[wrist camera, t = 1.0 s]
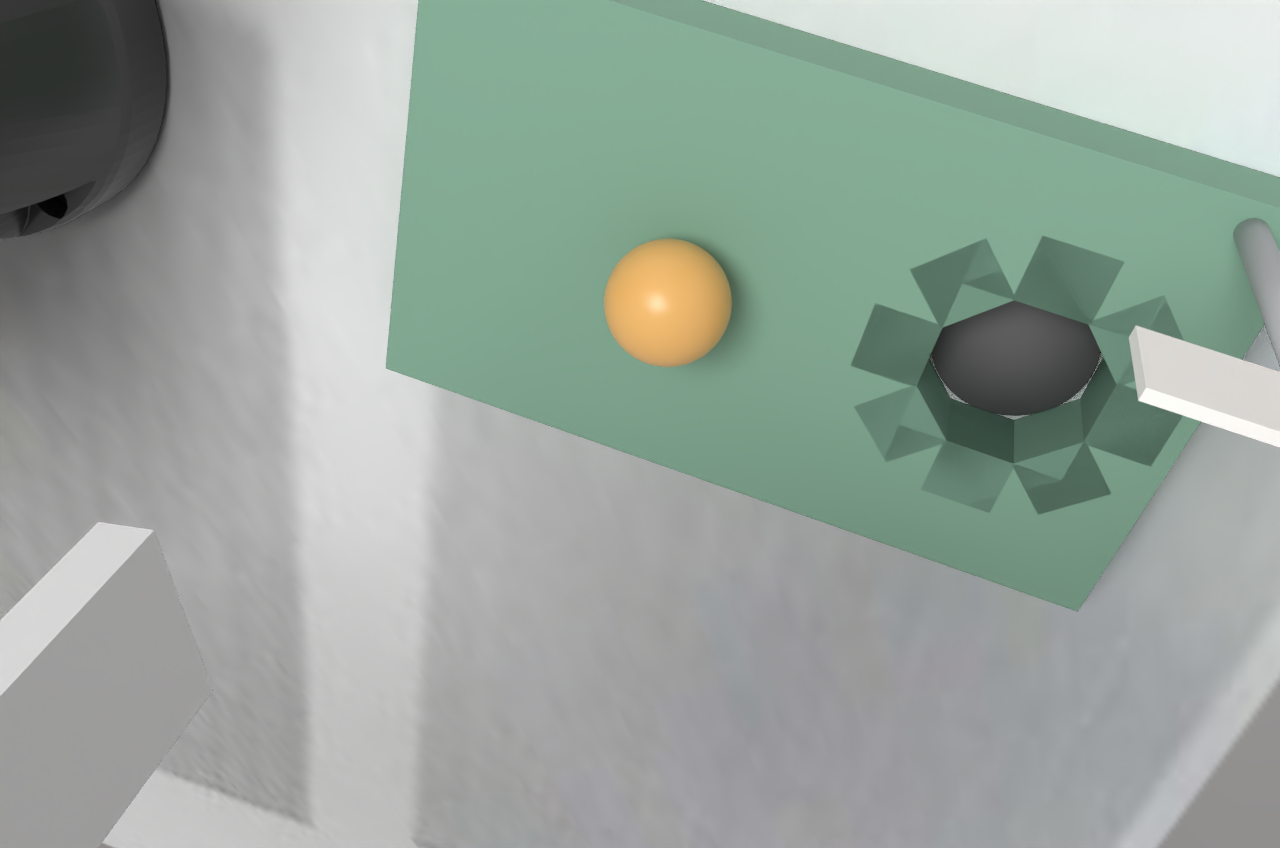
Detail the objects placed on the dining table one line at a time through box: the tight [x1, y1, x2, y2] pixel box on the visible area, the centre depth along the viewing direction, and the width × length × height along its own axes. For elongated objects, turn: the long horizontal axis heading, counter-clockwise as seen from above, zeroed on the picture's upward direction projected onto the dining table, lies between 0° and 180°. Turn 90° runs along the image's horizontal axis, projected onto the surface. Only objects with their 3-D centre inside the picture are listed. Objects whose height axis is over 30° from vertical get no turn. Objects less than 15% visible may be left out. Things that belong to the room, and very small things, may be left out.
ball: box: [604, 238, 732, 367], centre depth 32 cm, size 4×4×4 cm
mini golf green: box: [386, 0, 1280, 612], centre depth 30 cm, size 24×14×12 cm, turn 77°
